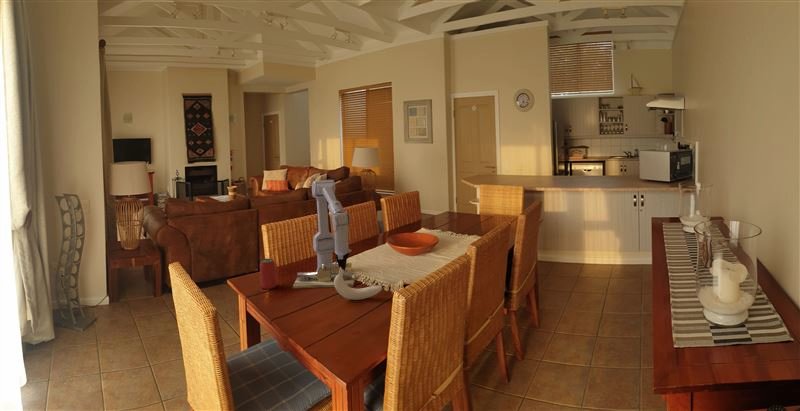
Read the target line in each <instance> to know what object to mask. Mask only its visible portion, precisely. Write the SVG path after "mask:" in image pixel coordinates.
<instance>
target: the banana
mask: <svg viewBox="0 0 800 411" xmlns="http://www.w3.org/2000/svg"><path fill="white" fill-rule="evenodd" d="M338 269H339V268H338ZM338 272H339V274H338V275H337V276H336V277H335V279H334V286H335V287H334V289H335V290H336V291H337V293H338V294H339V295H340V296H342V297H343V298H345V299H348V300H354V301H359V300H364V299H365V300H366V299H367V298H368V299H369V298H370V297H374V296H375V295H377V294H378V293H380V292H381V291H382V290H383V287H382V286H380V285H369V286H367V287H363V288H354V287H349V286H347V285H346V283H345V282H344V280H343V276H342V274H343V272H344V270H343V269H342V268H341V267H340V269H339V271H338Z"/></svg>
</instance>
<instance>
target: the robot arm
mask: <svg viewBox="0 0 800 411" xmlns="http://www.w3.org/2000/svg"><path fill="white" fill-rule="evenodd" d="M335 192H336V182H335V180H334V179H325V180H313V181H312V184H311V194H312V198H315V199H316V200H315V201H316V209H317V211H316V212H317V223H318V224H317V225H318V232H317V233H316V234H314V235H313V239H312V240H313V241H312V248H313V251H314V252H315V253H316V255H317V257H316V258H317V260H316V261H317V269H316V271H315V272H317V271H318V268H319V267H322V264H324V263H326V264H334V263H333V252H334V253H335V256H334V257H335V261H336V262H337V264H338V265H339V267H338V269H340V267H341V268H342V269H343V270H344V271H346V269H347V268H346V263H347V261H348V258H349V256H350V253H351V252H352V249H350V248H349V227H348V226H349V225H350V219H351V218H350V215H349V212H348V211H346V210H344V208H343V206H342V204H341V201H339V200H337V197H336V193H335ZM328 210H329V213H328ZM328 214H330V215H331V222H332V223H331V224H332V228H333V229H332V230H333V233H334V234H333V233H332V232H330V230H329V215H328ZM334 268H335V267H332V271H333V272H334Z"/></svg>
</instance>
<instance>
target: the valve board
mask: <svg viewBox="0 0 800 411" xmlns="http://www.w3.org/2000/svg"><path fill="white" fill-rule="evenodd" d="M334 279H335V278H333V280H331V281H321V282H318V280H317V279H310V280H309V281H304V279H297V278H295V281H294V283H293V285H292V289H316V288H318V289H321V288H322V289H323V288H324V289H325V288H335V286H334ZM355 280H356V273H352V278H348V279H347V280H344V282H345V283H346V285H347V286H349V287H351V288H354V285H355Z"/></svg>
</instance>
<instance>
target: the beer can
mask: <svg viewBox="0 0 800 411" xmlns="http://www.w3.org/2000/svg"><path fill="white" fill-rule="evenodd" d="M276 269H277V268H276V263H275V260H274V258H262V259H261V260H260V263H259V273H260V274H259V275H260V278H259V279H260V285H261V286H260V287H261V288H262V289H264V290H265V289H267V290H270V289H273V288H275V287H276V286H277V284H278V283H277V270H276Z"/></svg>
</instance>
